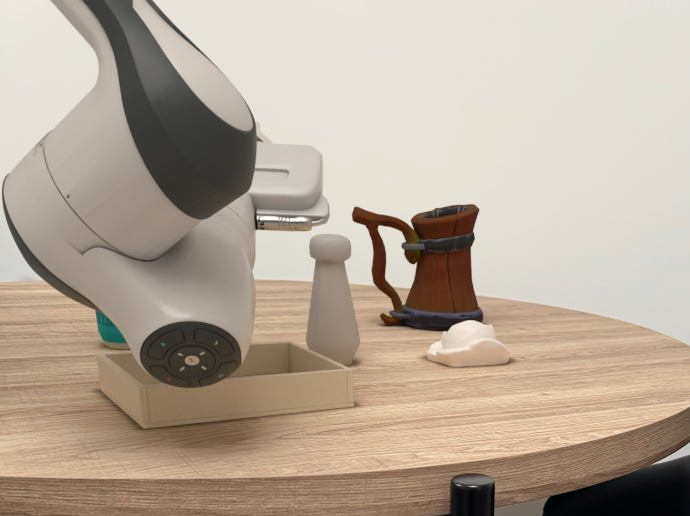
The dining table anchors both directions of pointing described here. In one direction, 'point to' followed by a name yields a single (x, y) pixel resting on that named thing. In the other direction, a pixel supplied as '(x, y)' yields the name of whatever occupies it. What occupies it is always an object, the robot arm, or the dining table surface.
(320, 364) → the tray
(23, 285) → the dining table surface
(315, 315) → the salt shaker
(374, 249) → the mug
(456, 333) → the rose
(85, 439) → the dining table surface
